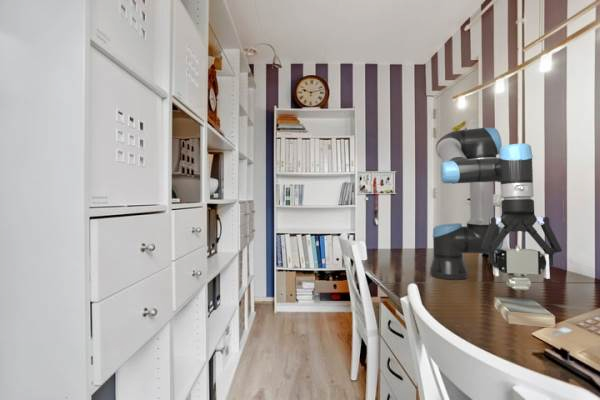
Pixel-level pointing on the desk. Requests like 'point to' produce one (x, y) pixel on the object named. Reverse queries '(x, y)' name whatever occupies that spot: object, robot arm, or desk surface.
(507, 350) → the desk surface
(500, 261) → the pneumatic valve
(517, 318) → the book
